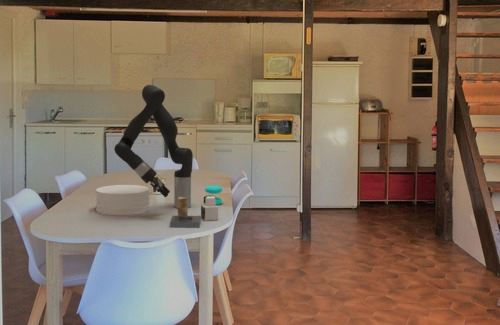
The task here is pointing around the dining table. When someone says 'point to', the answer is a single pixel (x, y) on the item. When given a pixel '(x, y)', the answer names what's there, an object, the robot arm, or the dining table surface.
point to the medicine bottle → (209, 209)
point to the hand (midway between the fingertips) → (167, 194)
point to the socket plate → (185, 221)
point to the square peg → (182, 206)
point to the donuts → (214, 192)
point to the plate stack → (122, 199)
